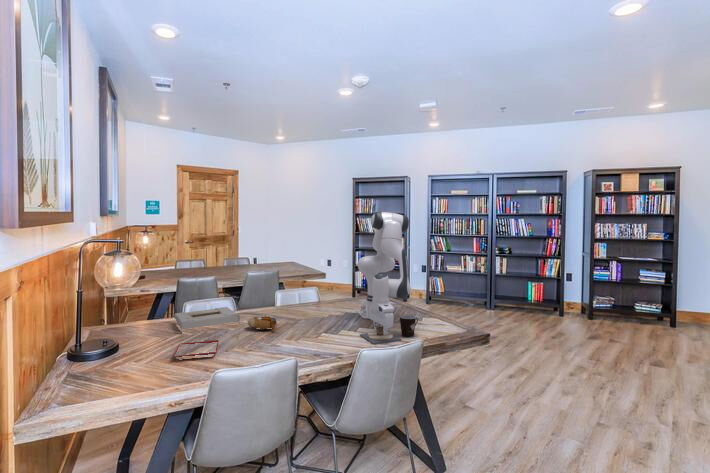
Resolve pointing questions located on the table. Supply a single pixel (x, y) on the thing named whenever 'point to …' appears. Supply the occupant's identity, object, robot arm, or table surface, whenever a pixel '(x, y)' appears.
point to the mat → (380, 340)
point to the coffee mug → (408, 325)
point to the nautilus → (263, 322)
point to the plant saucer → (199, 353)
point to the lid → (380, 334)
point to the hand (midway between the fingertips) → (380, 331)
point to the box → (206, 317)
